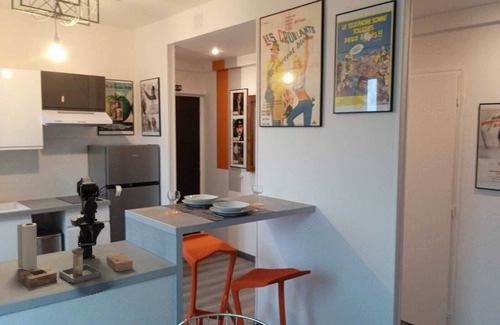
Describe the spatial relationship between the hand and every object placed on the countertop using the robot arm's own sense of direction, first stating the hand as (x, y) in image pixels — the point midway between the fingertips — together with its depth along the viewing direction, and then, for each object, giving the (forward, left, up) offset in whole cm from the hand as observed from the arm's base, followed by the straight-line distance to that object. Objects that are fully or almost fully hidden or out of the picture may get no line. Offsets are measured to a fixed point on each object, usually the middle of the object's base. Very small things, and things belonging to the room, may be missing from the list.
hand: (89, 240), depth 195 cm
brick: (+9, +11, -14) cm, 19 cm away
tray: (+9, -9, -13) cm, 18 cm away
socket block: (+1, -24, -13) cm, 27 cm away
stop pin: (+11, -11, -13) cm, 20 cm away
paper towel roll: (-17, -21, -13) cm, 30 cm away
